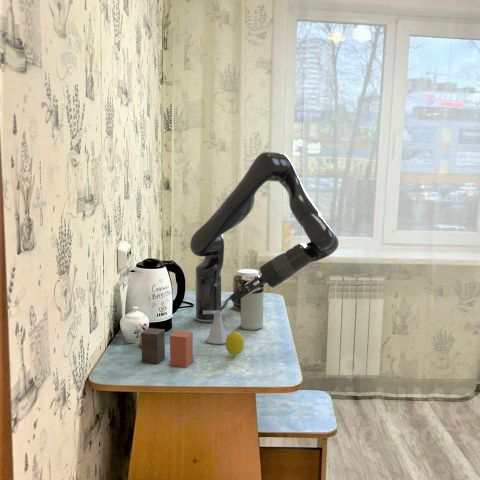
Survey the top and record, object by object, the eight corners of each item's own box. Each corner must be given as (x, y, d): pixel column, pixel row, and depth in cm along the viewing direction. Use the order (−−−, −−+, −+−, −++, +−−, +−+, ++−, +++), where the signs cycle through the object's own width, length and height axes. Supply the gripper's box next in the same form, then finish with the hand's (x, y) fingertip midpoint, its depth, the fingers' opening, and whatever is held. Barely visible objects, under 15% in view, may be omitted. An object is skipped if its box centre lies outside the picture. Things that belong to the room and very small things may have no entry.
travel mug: (252, 331, 207) (253, 281, 204) (235, 327, 211) (236, 277, 208) (267, 326, 213) (268, 277, 210) (251, 322, 218) (251, 274, 215)
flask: (224, 345, 192) (224, 315, 190) (203, 343, 193) (203, 313, 192) (231, 338, 199) (232, 309, 197) (211, 336, 200) (211, 307, 199)
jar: (266, 305, 241) (266, 269, 238) (257, 313, 229) (258, 275, 227) (238, 303, 243) (238, 267, 241) (228, 310, 232) (228, 273, 230)
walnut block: (149, 356, 180) (149, 328, 179) (164, 358, 179) (164, 329, 178) (141, 362, 176) (141, 332, 174) (157, 364, 175) (156, 334, 173)
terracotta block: (177, 359, 178) (177, 330, 177) (192, 361, 177) (192, 332, 176) (170, 365, 174) (169, 335, 172) (186, 367, 173) (185, 337, 171)
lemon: (225, 353, 185) (226, 328, 184) (243, 353, 185) (244, 328, 184) (225, 359, 179) (225, 334, 178) (243, 359, 180) (243, 334, 179)
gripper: (275, 258, 187) (233, 285, 189) (268, 260, 173) (222, 289, 175) (288, 278, 187) (245, 305, 188) (282, 281, 173) (235, 311, 174)
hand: (234, 297), depth 181 cm, fingers open, 8 cm apart
